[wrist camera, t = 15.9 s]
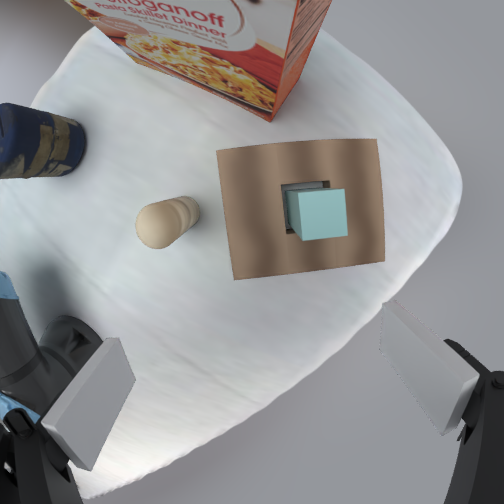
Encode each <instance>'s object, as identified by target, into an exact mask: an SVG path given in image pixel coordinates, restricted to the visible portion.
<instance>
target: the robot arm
mask: <svg viewBox="0 0 504 504" xmlns="http://www.w3.org/2000/svg"><path fill="white" fill-rule="evenodd" d="M379 350H380V351H381V352H382V354H383V355H384V357H385V358H386V359H387V361H388V362H389V363H390V365H391V366H392V367H393V368H394V370H395V371H396V372H397V374H398V375H399V377H400V378H401V380H402V381H403V382H404V384H405V385H406V386H407V388H408V389H409V391H410V392H411V393H412V395H413V396H414V398H415V399H416V400H417V402H418V403H419V405H420V406H421V408H422V409H423V410H424V412H425V413H426V415H427V416H428V418H429V419H430V421H431V422H432V423H433V425H434V426H435V428H436V429H437V431H438V432H439V434H440V435H441V436H443V435H445V434H447V433H449V432H450V431H452V430H454V429H456V428H457V426H458V424H459V422H460V420H461V418H462V419H463V420H464V421H465V423H466V424H465V425H464V427H463V429H462V431H461V433H460V435H459V437H458V439H457V441H459V440H460V439H461V437H462V439H461V443H460V448H459V453H458V457H457V462H456V465H455V469H454V473H453V476H452V480H451V484H450V487H449V490H448V493H447V496H446V499H445V502H444V504H504V371H494V372H490V371H489V370H488V369H487V368H486V367H485V366H483V365H482V364H481V363H480V362H479V361H478V360H477V359H475V357H473V356H472V355H470V353H469V352H468V351H467V350H465V349H464V348H463V347H462V346H461V345H460V344H458V343H457V342H454V341H452V340H450V339H446V340H442V339H441V338H440V337H438V336H437V335H436V334H435V333H434V332H433V331H432V330H431V329H429V328H428V327H427V326H426V325H425V324H424V323H422V322H421V321H420V320H419V319H418V318H416V317H415V316H414V315H413V314H412V313H411V312H409V311H408V310H407V309H406V308H405V307H404V306H402V305H401V304H400V303H399V302H397V301H396V300H394V301H389V302H385V303H383V304H382V323H381V338H380V348H379ZM135 381H136V379H135V377H134V374H133V372H132V370H131V367H130V365H129V362H128V360H127V357H126V355H125V352H124V350H123V347H122V345H121V342H120V339H119V338H106V340H105V341H104V342H102V340H101V339H100V338H99V336H98V335H97V334H96V333H95V332H94V331H93V330H92V329H91V328H90V327H89V326H88V325H86V324H85V323H83V322H82V321H80V320H78V319H76V318H74V317H70V316H61V317H58V318H56V319H55V320H54V321H53V322H51V323H50V324H49V325H48V327H47V328H46V331H45V332H44V334H43V336H42V338H41V340H40V342H39V344H37V342H36V340H35V338H34V336H33V334H32V332H31V330H30V327H29V325H28V323H27V320H26V318H25V315H24V313H23V310H22V308H21V305H20V302H19V297H18V296H17V295H16V292H15V290H14V287H13V285H12V282H11V279H10V277H9V276H8V275H7V274H6V273H5V272H2V271H0V418H1V419H2V420H3V422H4V424H5V425H6V427H7V428H8V429H9V431H10V432H8V431H7V430H6V429H5V427H4V426H3V425H2V424H1V423H0V504H83V502H82V499H81V497H80V494H79V491H78V488H77V486H76V483H75V480H74V477H73V474H72V471H71V468H70V467H69V465H68V464H67V463H68V461H69V459H70V460H71V461H72V462H73V463H74V465H75V466H76V467H77V468H81V469H84V470H87V471H92V469H93V466H94V464H95V462H96V460H97V458H98V456H99V453H100V451H101V449H102V447H103V445H104V443H105V441H106V439H107V437H108V435H109V433H110V430H111V428H112V426H113V424H114V422H115V420H116V418H117V416H118V414H119V412H120V410H121V408H122V406H123V404H124V402H125V400H126V398H127V396H128V394H129V393H130V391H131V389H132V387H133V385H134V383H135ZM5 463H6V464H7V465H8V466H9V467H10V468H11V472H10V473H9V472H8V471H7V470H6V469H5V468H4V466H5Z"/></svg>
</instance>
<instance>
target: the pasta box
mask: <svg viewBox="0 0 504 504" xmlns="http://www.w3.org/2000/svg"><path fill="white" fill-rule="evenodd" d="M65 1H66V2H67V3H68V4H70V5H71V6H72V7H73V8H75V9H76V10H77V11H78V12H79V13H81V14H82V15H83V16H84V17H85V18H87V19H88V20H89V21H90V22H91V23H92V24H94V25H95V26H96V27H97V28H98V29H99V30H101V31H102V32H103V33H104V34H105V35H106V36H107V37H109V38H110V39H111V40H112V41H113V42H114V43H115V44H116V45H117V46H119V47H120V48H121V49H122V50H123V51H124V52H125V53H126V54H127V55H128V56H130V57H131V58H132V59H133V60H134V61H135V62H136V63H138V64H141V65H144V66H147V67H149V68H152V69H155V70H158V71H160V72H163V73H166V74H168V75H171V76H173V77H176V78H178V79H181V80H183V81H186V82H188V83H190V84H193V85H195V86H197V87H200V88H202V89H204V90H206V91H208V92H211V93H213V94H215V95H217V96H219V97H221V98H223V99H226V100H228V101H230V102H232V103H234V104H236V105H238V106H240V107H242V108H244V109H246V110H247V111H249V112H251V113H253V114H255V115H257V116H259V117H261V118H263V119H264V120H266V121H268V122H271V120H272V119H273V117H274V116H275V114H276V113H277V111H278V109H279V108H280V106H281V105H282V103H283V102H284V100H285V99H286V97H287V96H288V94H289V93H290V91H291V90H292V88H293V87H294V85H295V84H296V82H297V81H298V79H299V77H300V75H301V73H302V70H303V68H304V65H305V63H306V60H307V58H308V56H309V53H310V51H311V48H312V46H313V44H314V41H315V39H316V36H317V34H318V32H319V29H320V27H321V25H322V22H323V20H324V17H325V15H326V13H327V11H328V8H329V6H330V4H331V1H332V0H65Z"/></svg>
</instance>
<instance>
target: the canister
mask: <svg viewBox="0 0 504 504" xmlns="http://www.w3.org/2000/svg"><path fill="white" fill-rule="evenodd" d="M83 148H84V134H83V130H82V128H81V126H80V125H79V124H78V123H77V122H76V121H74V120H72V119H69V118H66V117H62V116H59V115H55V114H52V113H49V112H45V111H40V110H36V109H32V108H28V107H24V106H20V105H16V104H11V103H2V104H0V179H9V178H25V179H28V178H31V177H59V176H63V175H66V174H68V173H69V172H70V171H72V170H73V169H74V167H75V166H76V165H77V163H78V162H79V160H80V158H81V155H82V152H83Z"/></svg>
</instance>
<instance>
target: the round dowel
mask: <svg viewBox="0 0 504 504" xmlns="http://www.w3.org/2000/svg"><path fill="white" fill-rule="evenodd" d="M199 215H200V210H199V206H198V204H197V203H196V201H195V200H193V199H192V198H190V197H187V196H181V197H177V198H173V199H168V200H164V201H160V202H156V203H152V204H149V205H147V206H145V207H144V208H143V209H142V210H141V211H140V212H139V214H138V216H137V218H136V232H137V235H138V237H139V239H140V240H141V241H142V242H143V243H144V244H145V245H146V246H148V247H150V248H153V249H162V248H165V247H167V246H169V245H170V244H171V243H173V242H174V241H175V240H176V239H177V238H179V237H180V236H181V235H182V234H183V233H185V232H186V231H187V230H188V229H189V228H191V227H192V226H193V225H194V224H195V223H196V222H197V220H198V218H199Z"/></svg>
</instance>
